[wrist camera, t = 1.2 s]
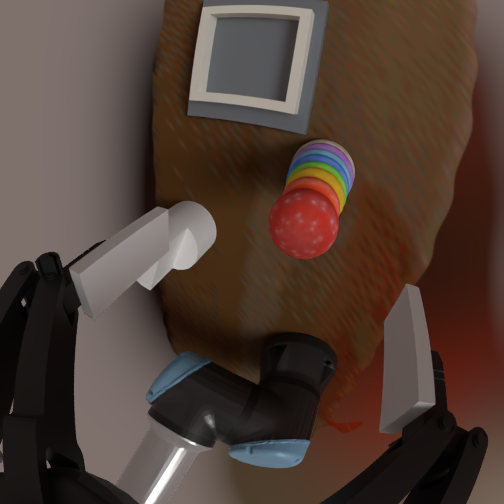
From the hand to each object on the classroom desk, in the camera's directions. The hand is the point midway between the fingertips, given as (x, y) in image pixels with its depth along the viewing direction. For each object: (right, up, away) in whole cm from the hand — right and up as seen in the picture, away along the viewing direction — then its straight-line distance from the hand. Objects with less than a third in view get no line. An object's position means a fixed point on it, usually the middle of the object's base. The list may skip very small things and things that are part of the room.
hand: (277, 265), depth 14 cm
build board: (-1, +25, +14) cm, 28 cm away
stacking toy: (+8, +11, +19) cm, 23 cm away
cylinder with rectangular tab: (-11, +5, +30) cm, 33 cm away
